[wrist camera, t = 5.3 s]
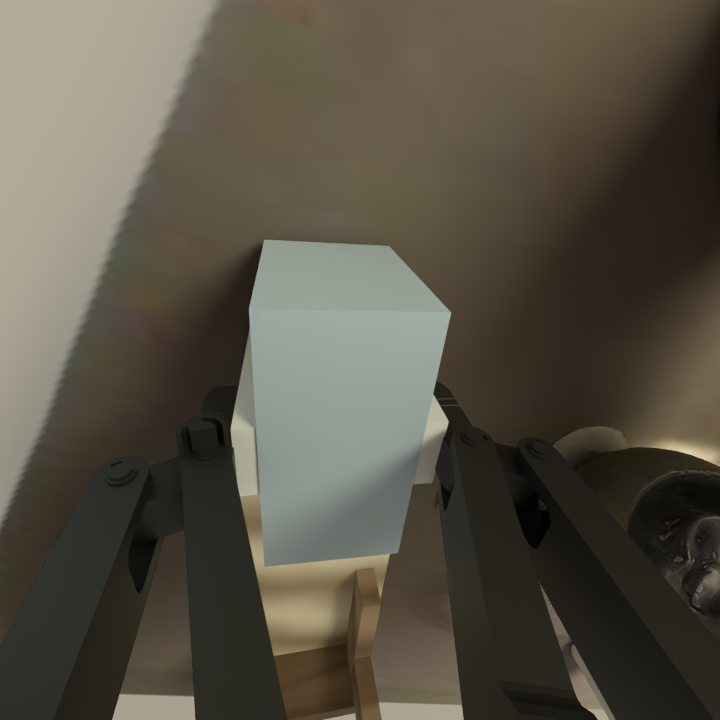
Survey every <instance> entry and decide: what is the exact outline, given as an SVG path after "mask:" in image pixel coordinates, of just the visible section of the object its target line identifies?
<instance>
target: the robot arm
mask: <svg viewBox="0 0 720 720" xmlns="http://www.w3.org/2000/svg"><path fill="white" fill-rule="evenodd" d="M176 437H177V442H178V447H179V453H180V455H179V456H178V457H176V458H174V459H172V460H169V461H166V462H163V463H159V464H155V465H152V466H149V465H148V464H147V462H146V461H145V460H143V459H141V458H136V457H127V458H121V459H117V460H115V461H112V462H110V463H108V464H106V465H105V466H103V467H102V468H100V469H99V470H98V471H97V472H96V474H95V475H94V476H93V478H92V479H91V481H90V483H89V485H88V487H87V489H86V490H85V492H84V494H83V496H82V498H81V499H80V501H79V503H78V505H77V507H76V509H75V510H74V512H73V514H72V516H71V518H70V520H69V521H68V523H67V525H66V527H65V529H64V531H63V532H62V534H61V536H60V538H59V540H58V542H57V543H56V545H55V547H54V549H53V551H52V552H51V554H50V556H49V558H48V560H47V562H46V563H45V565H44V567H43V569H42V571H41V573H40V574H39V576H38V578H37V580H36V582H35V584H34V585H33V587H32V589H31V591H30V593H29V594H28V596H27V598H26V600H25V602H24V604H23V605H22V607H21V609H20V611H19V613H18V615H17V616H16V618H15V620H14V622H13V624H12V626H11V627H10V629H9V631H8V633H7V635H6V637H5V638H4V640H3V642H2V644H1V646H0V720H112V718H113V714H114V710H115V707H116V704H117V700H118V697H119V694H120V690H121V687H122V683H123V680H124V676H125V673H126V669H127V666H128V662H129V659H130V655H131V652H132V648H133V645H134V641H135V638H136V634H137V631H138V627H139V624H140V620H141V617H142V613H143V610H144V606H145V603H146V600H147V596H148V593H149V589H150V586H151V582H152V579H153V575H154V572H155V568H156V565H157V561H158V558H159V554H160V551H161V547H162V544H163V540H164V537H165V536H167V535H170V534H173V533H175V532H178V531H181V530H184V529H185V546H186V563H187V580H188V597H189V615H190V632H191V649H192V666H193V683H194V701H195V718H196V720H287V716H286V712H285V707H284V702H283V697H282V693H281V688H280V683H279V679H278V674H277V669H276V664H275V660H274V655H273V650H272V645H271V641H270V636H269V631H268V627H267V622H266V617H265V612H264V608H263V603H262V598H261V593H260V589H259V584H258V579H257V575H256V570H255V565H254V560H253V556H252V551H251V546H250V541H249V537H248V532H247V527H246V523H245V518H244V513H243V508H242V504H241V499H240V496H249V495H260V485H259V469H258V452H257V435H256V419H255V402H254V385H253V369H252V352H251V335H250V329H249V335H248V340H247V345H246V351H245V356H244V361H243V366H242V372H241V377H240V382H239V386H228V387H214V388H213V389H212V390H211V391H210V392H209V393H208V394H207V395H206V397H205V400H204V403H203V406H202V410H201V414H200V415H199V416H196V417H192V418H190V419H188V420H186V421H185V422H183V423H182V424H181V425H180V426H179V427H178V429H177V433H176ZM435 472H437V475H438V477H439V479H440V483H439V487H438V490H437V494H436V497H435V501H434V507H435V508H437V505H438V502H439V508H440V517H441V525H442V534H443V543H444V551H445V560H446V569H447V577H448V586H449V595H450V604H451V612H452V621H453V630H454V638H455V647H456V656H457V664H458V673H459V682H460V691H461V699H462V708H463V716H464V720H597V718H596V717H595V715H594V714H593V713H591V712H590V711H588V710H587V709H586V708H584V707H583V706H582V705H581V704H580V702H579V701H578V699H577V697H576V694H575V692H574V689H573V686H572V683H571V680H570V677H569V674H568V671H567V668H566V665H565V662H564V658H563V655H562V652H561V649H560V646H559V643H558V640H557V637H556V634H555V631H554V628H553V625H552V621H551V618H550V615H549V612H548V609H547V606H546V603H545V600H544V597H543V594H542V591H541V587H540V584H541V586H542V588H543V589H544V591H545V593H546V595H547V597H548V598H549V600H550V602H551V604H552V606H553V608H554V609H555V611H556V613H557V615H558V617H559V618H560V620H561V622H562V624H563V626H564V627H565V629H566V631H567V633H568V635H569V636H570V638H571V640H572V642H573V644H574V645H575V647H576V649H577V651H578V653H579V655H580V656H581V658H582V660H583V662H584V664H585V665H586V667H587V669H588V671H589V673H590V674H591V676H592V678H593V680H594V682H595V683H596V685H597V687H598V689H599V691H600V692H601V694H602V696H603V698H604V700H605V702H606V703H607V705H608V707H609V709H610V711H611V712H612V714H613V716H614V718H615V720H720V643H719V641H718V640H717V639H716V638H715V637H714V635H713V634H712V633H711V632H710V631H709V630H708V628H707V627H706V626H705V625H704V624H703V622H702V621H701V620H700V619H699V618H698V616H697V615H696V614H695V613H694V612H693V611H692V609H691V608H690V607H689V606H688V605H687V603H686V602H685V601H684V600H683V599H682V597H681V596H680V595H679V594H678V593H677V592H676V590H675V589H674V588H673V587H672V586H671V584H670V583H669V582H668V581H667V580H666V579H665V577H664V576H663V575H662V574H661V573H660V571H659V570H658V569H657V568H656V567H655V565H654V564H653V563H652V562H651V561H650V560H649V558H648V557H647V556H646V555H645V554H644V552H643V551H642V550H641V549H640V548H639V546H638V545H637V544H636V543H635V542H634V541H633V539H632V538H631V537H630V536H629V535H628V533H627V532H626V531H625V530H624V529H623V527H622V526H621V525H620V524H619V523H618V522H617V520H616V519H615V518H614V517H613V516H612V514H611V513H610V512H609V511H608V510H607V508H606V507H605V506H604V505H603V504H602V503H601V501H600V500H599V499H598V498H597V497H596V495H595V494H594V493H593V492H592V491H591V490H590V488H589V487H588V486H587V485H586V484H585V482H584V481H583V480H582V479H581V478H580V476H579V475H578V474H577V473H576V472H575V471H574V469H573V468H572V467H571V466H570V465H569V463H568V462H567V461H566V460H565V459H564V457H563V456H562V455H561V454H560V453H559V452H558V450H557V449H555V448H554V447H553V446H552V445H551V444H549V443H547V442H545V441H543V440H540V439H537V438H529V437H528V438H523V439H521V440H520V441H519V443H518V445H517V448H516V447H511V446H506V445H500V444H496V443H494V442H493V440H492V439H491V437H490V436H489V435H488V434H487V433H486V432H484V431H482V430H480V429H478V428H475V427H472V425H471V423H470V422H469V420H468V419H467V417H466V416H465V414H464V412H463V411H462V409H461V408H460V406H458V403H457V401H456V400H455V399H454V397H453V395H452V394H451V392H450V391H449V389H448V388H446V387H445V386H444V385H442V384H441V383H440V382H436V384H435V388H434V393H433V397H432V402H431V406H430V411H429V415H428V420H427V424H426V429H425V433H424V438H423V442H422V447H421V451H420V456H419V460H418V465H417V469H416V474H415V478H414V483H413V484H425V483H433V479H434V476H435ZM541 501H542V502H543V503H544V505H545V506H546V508H547V510H546V509H545V508H544V506H543V505H542V503H541ZM538 580H539V581H538ZM539 582H540V584H539Z"/></svg>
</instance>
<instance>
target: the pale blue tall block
mask: <svg viewBox="0 0 720 720" xmlns="http://www.w3.org/2000/svg"><path fill="white" fill-rule="evenodd" d="M450 316H451V312H450V311H449V310H448V309H447V308H446V306H445V305H444V304H443V303H442V302H441V301H440V300H439V299H438V298H437V297H436V296H435V295H434V294H433V293H432V291H431V290H430V289H429V288H428V287H427V286H426V285H425V284H424V283H423V282H422V281H421V280H420V279H419V278H418V277H417V275H416V274H415V273H414V272H413V271H412V270H411V269H410V268H409V267H408V266H407V265H406V264H405V263H404V262H403V261H402V259H401V258H400V257H399V256H398V255H397V254H396V253H395V252H394V251H393V250H392V249H391V248H390V247H389V246H378V245H358V244H339V243H320V242H301V241H281V240H264V244H263V248H262V253H261V257H260V262H259V266H258V271H257V275H256V279H255V284H254V288H253V293H252V297H251V302H250V306H249V318H250V335H251V352H252V369H253V385H254V402H255V419H256V435H257V452H258V469H259V485H260V502H261V519H262V536H263V552H264V567H269V566H279V565H289V564H298V563H308V562H318V561H328V560H337V559H347V558H357V557H367V556H376V555H386V554H396V553H398V550H399V546H400V541H401V537H402V532H403V528H404V523H405V519H406V514H407V510H408V505H409V501H410V496H411V492H412V487H413V483H414V478H415V474H416V469H417V465H418V460H419V456H420V451H421V447H422V442H423V438H424V433H425V429H426V424H427V420H428V415H429V411H430V406H431V402H432V397H433V393H434V388H435V384H436V379H437V375H438V370H439V366H440V361H441V357H442V352H443V347H444V343H445V338H446V334H447V329H448V325H449V320H450Z"/></svg>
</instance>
